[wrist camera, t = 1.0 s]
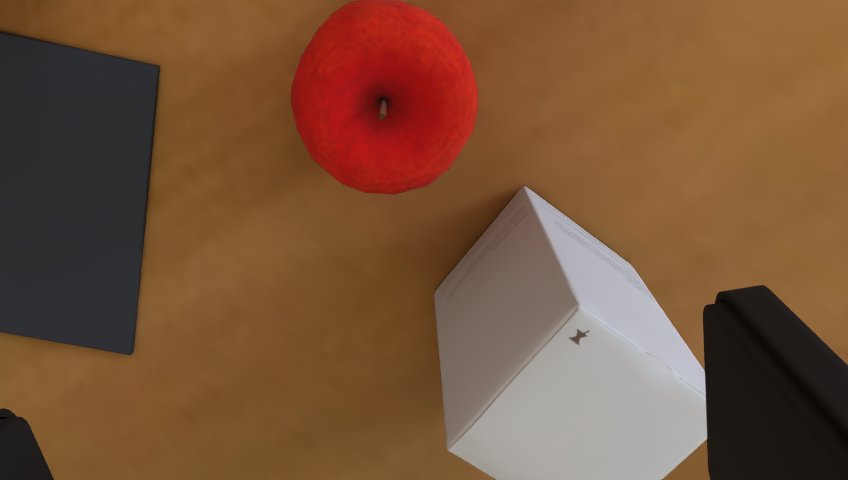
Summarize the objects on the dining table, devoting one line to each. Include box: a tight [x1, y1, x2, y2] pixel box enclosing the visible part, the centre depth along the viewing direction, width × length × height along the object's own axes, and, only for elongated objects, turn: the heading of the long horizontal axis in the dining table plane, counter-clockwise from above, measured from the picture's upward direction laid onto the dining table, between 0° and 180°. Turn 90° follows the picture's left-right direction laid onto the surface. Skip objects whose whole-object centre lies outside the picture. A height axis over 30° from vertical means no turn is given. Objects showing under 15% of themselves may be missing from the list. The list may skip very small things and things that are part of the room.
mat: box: [0, 31, 160, 355], centre depth 42 cm, size 18×14×1 cm
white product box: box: [434, 186, 707, 480], centre depth 38 cm, size 9×9×15 cm
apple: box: [291, 0, 478, 194], centre depth 37 cm, size 9×9×8 cm
